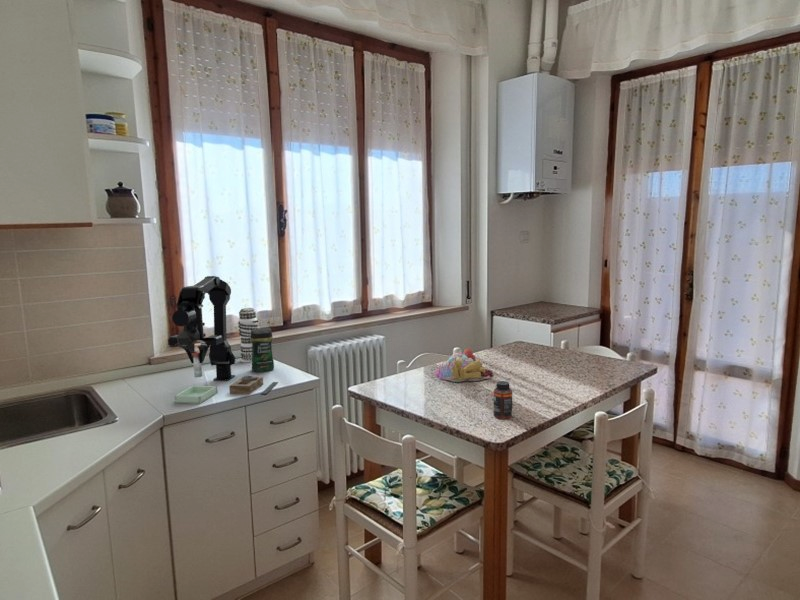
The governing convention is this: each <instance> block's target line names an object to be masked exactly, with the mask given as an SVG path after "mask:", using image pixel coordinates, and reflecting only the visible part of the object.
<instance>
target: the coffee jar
mask: <svg viewBox="0 0 800 600" xmlns="http://www.w3.org/2000/svg"><path fill="white" fill-rule="evenodd" d="M273 338H274V337H273V331H272V329H271V328H270V327H267V328H258V329H253V330H251V335H250V340H251V342H252V362H251V370H252V372H256V373H257V372H258V373H260V372H268V371H272V370H273V369H274V368H275V360H274V356H273V348H272V347H273V345H272V341H273Z"/></svg>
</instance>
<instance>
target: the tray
mask: <svg viewBox="0 0 800 600" xmlns="http://www.w3.org/2000/svg"><path fill="white" fill-rule="evenodd" d="M217 394H218V386H214V385H192V386H190V387H187V388H186V389H184V390H183V391H181V392H179V393H177V394H175V395H174V396H173V398H174V404H196V405H197V404H198V405H200V404H201V405H202V403H204V402H206V401H208V400H209V399H210V398H212V397H213V396H215V395H217Z"/></svg>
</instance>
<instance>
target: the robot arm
mask: <svg viewBox="0 0 800 600" xmlns="http://www.w3.org/2000/svg"><path fill="white" fill-rule="evenodd" d="M206 294H208V299H209V301H210V303H211V304H212V306H213V334H211V335H209V336H207V337H206V335H207V333H204V326H205V325H206V323H205V322H203V308H204V305H203V301H204V300H205V298H206ZM231 294H232V288H231V287H230V285H229V283H228V282H226V281H225V280H222V279H221V278H220V276H217V275H207V276H205V277H204V278H203V279H201V280H200V281H199V282H197V283H196V284H193V285H188V286H183V287H182V288H181V290H180V291H179V294H178V299H177V302H176V309H177V310H176V311H174V312H173V314H172V318H171V319H172V322H173V324H174V325H175V326H177V327H183V330H182V331H181V332H179V334H175V335H172V336H169V337H168V338H167V345H168V346H177V344H178V347H179V348H182V349H183V350H184V351H185V353H186V354H187V357H188V358H189V361H190V362H191V364H194V363H193V355H191V352H193V351H196V348H195V344H197V343H199V344H200V345H197V349H198V351H199V353H200V363H201V364H203V363H204V361H205V358H206V355H207V353H208V351H209V353H208V357H209V362H210V366H215V373H216V377H214V378H213V379H212V380H213V381H229V380H231V379H232V378H234V377H236V376H235V374H232V367H231V366H233V365H235V364H236V356H235V355H234V353H233V352H232V347H231V344H229V341H228V340H227V305H228V303H229V301H230V299H231Z"/></svg>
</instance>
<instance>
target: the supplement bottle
mask: <svg viewBox="0 0 800 600" xmlns="http://www.w3.org/2000/svg"><path fill="white" fill-rule="evenodd" d="M493 417H494V418H496V419H498V420H510V419H511V418H512V417H513V390H512V389H511V387H510V382H509V381H508V380H507V381H506V380H500V381H496V387H495V388H494V390H493Z"/></svg>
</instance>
